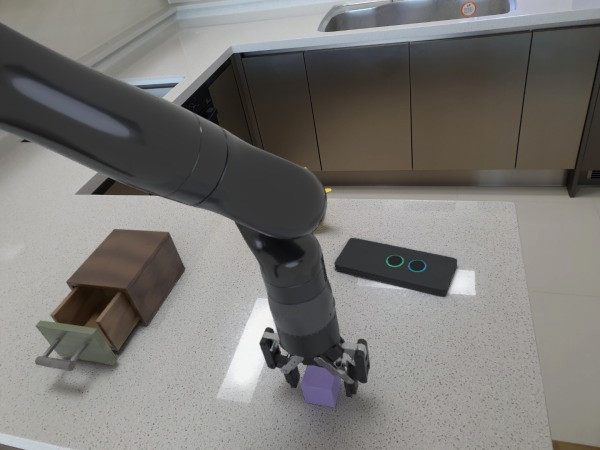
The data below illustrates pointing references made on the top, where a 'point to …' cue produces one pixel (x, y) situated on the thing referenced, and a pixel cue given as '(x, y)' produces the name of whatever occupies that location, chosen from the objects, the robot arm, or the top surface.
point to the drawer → (87, 327)
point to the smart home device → (397, 266)
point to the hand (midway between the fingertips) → (323, 387)
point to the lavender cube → (320, 386)
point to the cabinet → (133, 269)
